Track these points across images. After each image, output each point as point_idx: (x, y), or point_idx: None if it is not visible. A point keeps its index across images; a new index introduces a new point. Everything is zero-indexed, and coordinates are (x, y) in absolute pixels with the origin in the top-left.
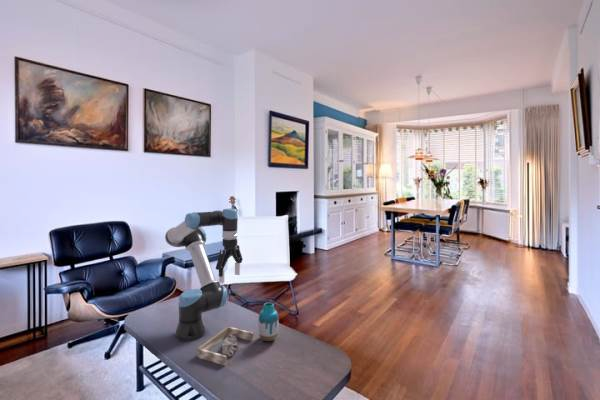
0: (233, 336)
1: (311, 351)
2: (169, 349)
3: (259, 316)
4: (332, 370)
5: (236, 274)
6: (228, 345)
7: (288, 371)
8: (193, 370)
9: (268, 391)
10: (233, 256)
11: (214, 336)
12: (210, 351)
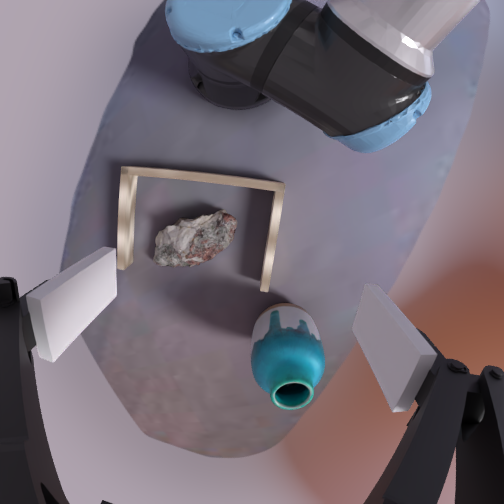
0: (229, 234)
1: (255, 416)
2: (144, 68)
3: (267, 344)
4: (206, 445)
5: (361, 303)
6: (173, 246)
7: (169, 390)
8: (87, 195)
9: (105, 368)
10: (389, 478)
11: (201, 175)
12: (123, 214)
